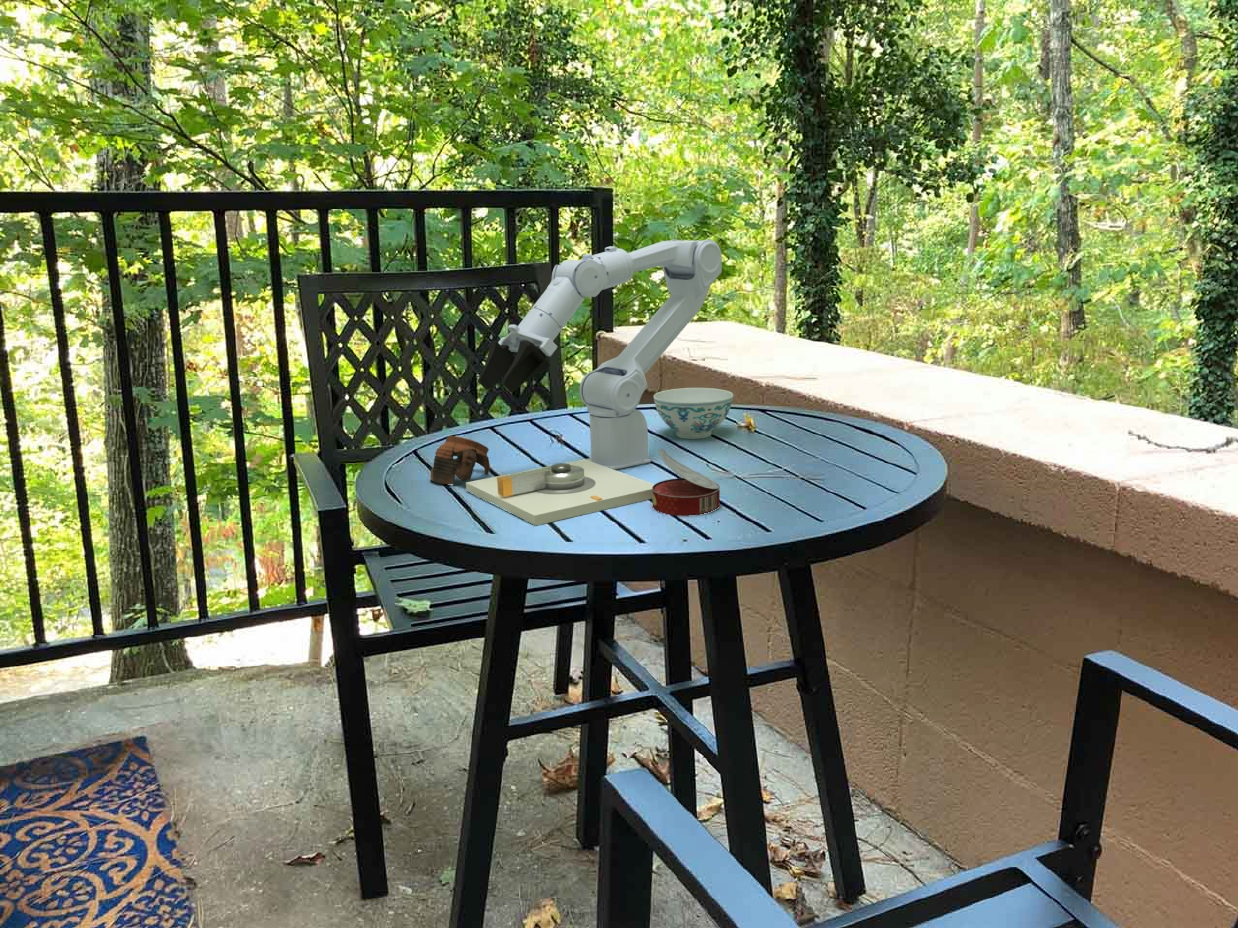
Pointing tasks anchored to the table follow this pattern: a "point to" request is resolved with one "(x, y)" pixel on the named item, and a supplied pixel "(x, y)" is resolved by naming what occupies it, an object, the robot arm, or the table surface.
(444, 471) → the brown ridged arch
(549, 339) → the robot arm
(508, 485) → the dial
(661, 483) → the canned food
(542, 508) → the panel
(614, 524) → the table surface
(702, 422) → the chinaware
